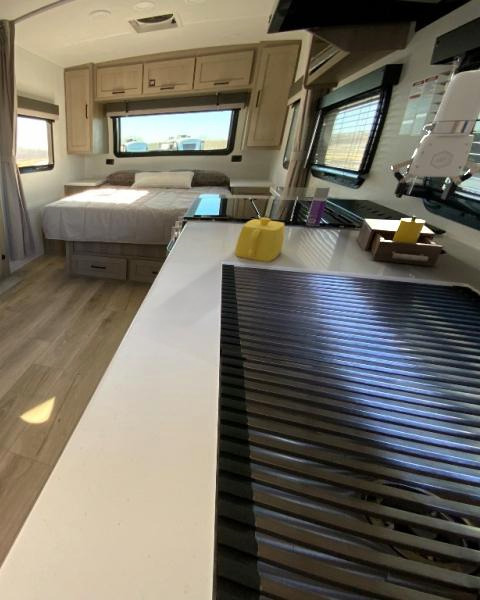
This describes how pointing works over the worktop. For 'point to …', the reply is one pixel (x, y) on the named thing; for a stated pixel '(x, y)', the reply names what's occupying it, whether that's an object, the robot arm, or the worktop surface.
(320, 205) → the container
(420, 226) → the yellow cylinder
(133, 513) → the worktop surface
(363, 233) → the cabinet
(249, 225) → the teapot
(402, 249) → the drawer
